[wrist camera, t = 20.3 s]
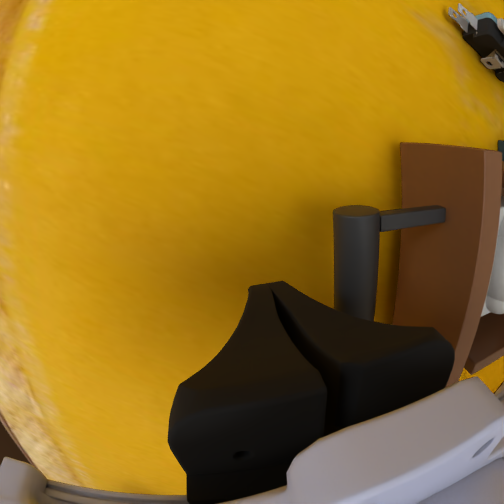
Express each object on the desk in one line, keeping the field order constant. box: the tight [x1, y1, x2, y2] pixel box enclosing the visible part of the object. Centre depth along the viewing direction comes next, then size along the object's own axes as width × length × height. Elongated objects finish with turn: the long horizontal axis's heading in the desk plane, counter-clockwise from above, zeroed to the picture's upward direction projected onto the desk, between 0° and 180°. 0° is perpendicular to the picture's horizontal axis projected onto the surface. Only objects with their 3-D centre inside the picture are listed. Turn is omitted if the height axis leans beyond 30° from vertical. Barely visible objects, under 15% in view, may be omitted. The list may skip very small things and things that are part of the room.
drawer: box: [333, 142, 504, 388], centre depth 12 cm, size 18×11×5 cm, turn 97°
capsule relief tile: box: [481, 196, 504, 316], centre depth 11 cm, size 6×3×4 cm, turn 7°
